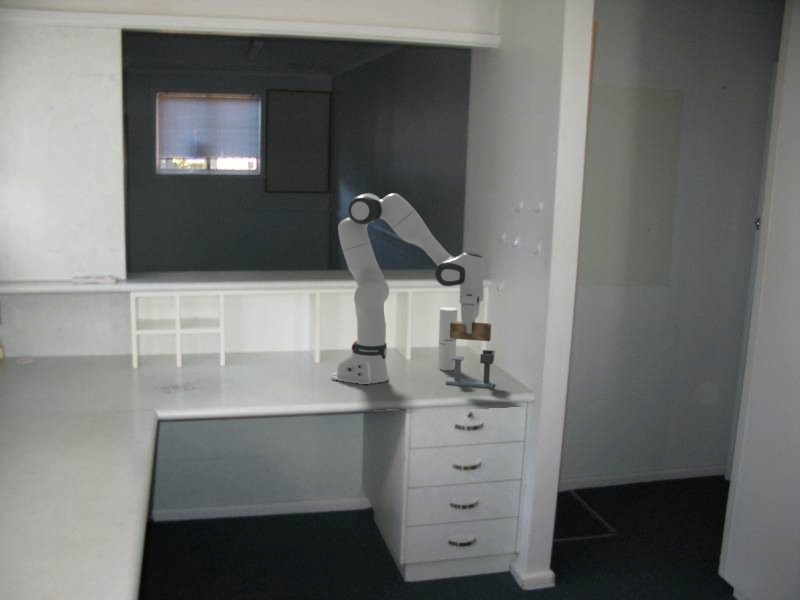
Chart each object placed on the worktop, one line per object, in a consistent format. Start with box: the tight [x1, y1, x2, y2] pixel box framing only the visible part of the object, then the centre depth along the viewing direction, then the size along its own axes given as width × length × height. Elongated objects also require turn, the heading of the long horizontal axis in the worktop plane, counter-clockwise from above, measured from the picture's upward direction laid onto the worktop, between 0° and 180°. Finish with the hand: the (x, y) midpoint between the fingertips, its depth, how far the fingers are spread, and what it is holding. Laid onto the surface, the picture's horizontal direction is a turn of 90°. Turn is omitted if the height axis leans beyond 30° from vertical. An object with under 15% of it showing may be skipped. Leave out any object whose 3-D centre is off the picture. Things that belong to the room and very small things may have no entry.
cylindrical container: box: [437, 306, 458, 371], centre depth 328 cm, size 7×7×25 cm
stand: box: [445, 349, 495, 389], centre depth 307 cm, size 18×7×13 cm, turn 77°
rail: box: [450, 320, 492, 342], centre depth 301 cm, size 15×4×6 cm, turn 76°
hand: (470, 331), depth 302 cm, fingers closed on rail, 4 cm apart
